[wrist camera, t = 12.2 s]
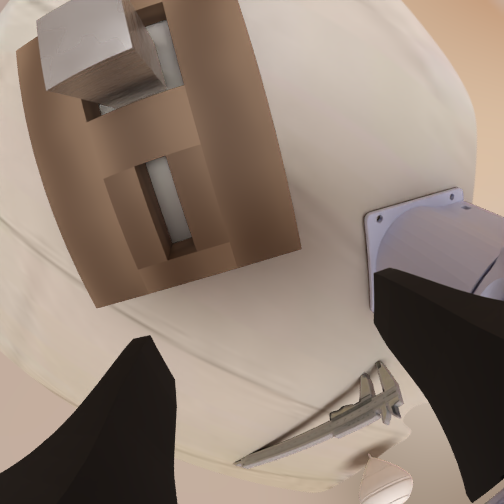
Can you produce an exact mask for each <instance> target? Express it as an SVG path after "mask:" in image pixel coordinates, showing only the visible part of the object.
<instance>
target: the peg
mask: <svg viewBox="0 0 504 504" xmlns="http://www.w3.org/2000/svg"><path fill="white" fill-rule="evenodd" d="M37 33H38V42H39V50H40V58H41V64H42V70H43V76H44V82H45V87H46V91H50V92H54V93H59V94H63V95H67V96H71V97H75V98H79V99H83V100H87V101H91V102H95V103H98V104H102V105H106V106H109V107H113V108H116V109H117V108H120V107H122V106H124V105H127V104H129V103H132V102H134V101H137V100H139V99H142V98H144V97H147V96H150V95H152V94H155V93H158V92H161V91H163V90H166V89H167V86H166V83H165V79H164V76H163V72H162V69H161V65H160V61H159V58H158V54H157V50H156V47H155V44H154V42H153V40H152V38H151V37H150V35H149V33H148V31H147V29H146V28H145V26H144V24H143V22H142V21H141V19H140V17H139V15H138V14H137V12H136V10H135V9H134V7H133V5H132V3H131V2H130V0H71V1H69V2H67V3H65V4H63V5H61V6H60V7H58V8H56V9H55V10H53V11H51V12H49V13H48V14H46V15H45V16H43V17H41V18H40V19H38V20H37Z"/></svg>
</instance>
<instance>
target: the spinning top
mask: <svg viewBox="0 0 504 504" xmlns="http://www.w3.org/2000/svg"><path fill="white" fill-rule="evenodd" d="M368 456H369V460H368V462H367V464H366V467H365V470H364V473H363V477H362V480H361V484H360V490H359V500H360V503H361V504H403V503H404V502H405V501H406V500H407V499H408V498H409V496H410V493H411V491H412V487H413V480H412V477H411V476H410V474H409V473H408V472H407V471H406V470H404V469H402V468H401V467H399V466H397V465H395V464H392V463H390V462H387V461H384V460H381V459H378V458H374V457H373V458H372V457H371V455H370V453H368Z"/></svg>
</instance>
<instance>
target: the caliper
mask: <svg viewBox="0 0 504 504" xmlns="http://www.w3.org/2000/svg"><path fill="white" fill-rule="evenodd" d="M375 364H376V367H377V370H378V374H379V377H380V381H381V385H382V389H383V392H382V393H380V394H378V395H377V396H376V395H375V391H374V387H373V383H372V381H371V379H370V376H369V375H368V374H367V373H363V374H362V375H361V378H360V399H359V402H358V403H356V404H354V405H353V404H351V405H346V406H343V407H341V408H340V409H339V410H337V411H333V412H331V413H330V414H329V415H330V421H328V422H326V423H324V424H322V425H320V426H318V427H316V428H313V429H311V430H309V431H307V432H305V433H302V434H300V435H298V436H296V437H293V438H291V439H288V440H286V441H284V442H281V443H278V444H276V445H273V446H271V447H268V448H265V449H262V450H260V451H257V452H254V453H251V454H249V455H247V456H245V457H244V458H242V459H241V461H238V462H235V463H233V464H234V465H236V466H240V467H243V468H247V469H248V468H252V467H255V466H259V465H262V464H265V463H268V462H271V461H274V460H277V459H280V458H283V457H286V456H289V455H291V454H294V453H297V452H299V451H302V450H304V449H307V448H309V447H312V446H314V445H317V444H319V443H321V442H324V441H326V440H328V439H330V438H333V437H336V438H341V437H344V436H346V435H348V434H350V433H352V432H355V431H357V430H359V429H361V428H363V427H365V426H367V425H369V424H371V423H373V422H375V421H377V420H378V419H380V418H381V416H382V421H383V423H384V424H386V425H389V424H390V420H391V414H392V415H394V416H395V417H397V418H401V415H400V412H399V408H398V407H400V406H401V405H403V404H404V403H403V399H402V395H401V391H400V387H399V384H398V383H397V382H396V380H395V379H394V377H393V376H392V374H391V373H390V371H389V370H388V369H387V367H386V366H385V365H384V364H382V363H381V362H377V363H375ZM380 414H381V415H380Z"/></svg>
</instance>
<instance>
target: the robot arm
mask: <svg viewBox="0 0 504 504" xmlns="http://www.w3.org/2000/svg"><path fill="white" fill-rule="evenodd" d="M450 195H451V197H450ZM379 215H380V219H379V220H378V221H377V217H378V216H379ZM364 222H365V232H366V242H367V254H368V267H369V284H370V308H371V311H372V312H373V313H374V324H375V326H376V328H377V329H378V331H379V333H380V335H381V336H382V338H383V340H384V341H385V343H386V345H387V346H388V348H389V349H390V350H391V352H392V353H393V354H394V356H395V357H396V358H397V360H398V361H399V362H400V363H401V365H402V366H403V367H404V369H405V370H406V371H407V373H408V374H409V375H410V376H411V378H412V379H413V380H414V382H415V383H416V384H417V386H418V387H419V388H420V390H421V391H422V392H423V394H424V395H425V397H426V398H427V400H428V402H429V403H430V405H431V407H432V409H433V411H434V412H435V414H436V416H437V418H438V420H439V422H440V424H441V426H442V428H443V430H444V432H445V434H446V436H447V439H448V441H449V443H450V445H451V448H452V451H453V453H454V455H455V458H456V461H457V463H458V466H459V469H460V472H461V476H462V479H463V482H464V486H465V490H466V494H467V496H468V498H469V499H470V501H471V502H472V503H473V502H474V501H476V500H477V499H478V498H480V497H481V496H483V495H484V494H485V493H486V492H488V491H489V490H490V489H492V488H493V487H494V486H495V485H497V484H498V483H499V482H500V481H501V480H503V479H504V217H502V216H500V215H498V214H495V213H493V212H490V211H488V210H486V209H483V208H481V207H478V206H475V205H473V204H471V203H468V202H466V201H463V190H462V189H461V188H458V187H457V188H453V189H449V190H446V191H442V192H439V193H435V194H432V195H428V196H425V197H421V198H418V199H414V200H411V201H407V202H404V203H400V204H397V205H393V206H390V207H386V208H383V209H379V210H376V211H372V212H369V213H368V214H367V215H366V216H365V220H364ZM176 411H177V403H176V388H175V379H174V377H173V375H172V374H171V372H170V370H169V369H168V367H167V365H166V363H165V362H164V360H163V358H162V356H161V354H160V353H159V351H158V349H157V347H156V345H155V343H154V341H153V340H152V338H151V336H150V335H149V336H144V337H140V338H135V339H133V340H132V341H131V342H130V343H129V344H128V345H127V346H126V348H125V349H124V350H123V351H122V353H121V354H120V355H119V357H118V358H117V359H116V360H115V362H114V363H113V364H112V366H111V367H110V368H109V370H108V371H107V372H106V374H105V375H104V376H103V377H102V379H101V380H100V381H99V383H98V384H97V385H96V386H95V388H94V389H93V390H92V391H91V393H90V394H89V395H88V396H87V397H86V399H85V400H84V401H83V402H82V404H81V405H80V406H79V407H78V408H77V409H76V411H75V412H74V413H73V414H72V415H71V416H70V417H69V418H68V419H67V420H66V421H65V422H64V423H63V424H62V425H61V426H60V427H59V428H58V429H57V431H55V432H54V433H53V434H52V435H51V436H50V437H49V438H48V439H46V440H45V441H44V442H43V443H42V444H41V445H39V446H38V447H37V448H36V449H35V450H34V451H32V452H31V453H30V454H29V455H27V456H26V457H24V458H23V459H22V460H20V461H19V462H18V463H16V464H14V465H13V466H11V467H10V468H8V469H7V470H5V471H3V472H2V473H0V504H177V497H176V489H175V480H174V449H175V430H176ZM485 504H504V488H503V489H502V490H501V491H500V492H498V493H497V494H496V495H495V496H494V497H493V498H491V499H490V500H489V501H488V502H486V503H485Z"/></svg>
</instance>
